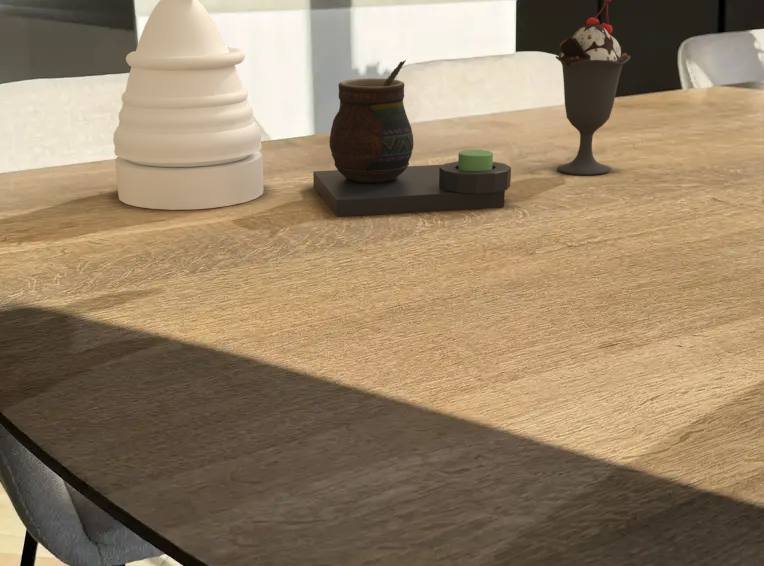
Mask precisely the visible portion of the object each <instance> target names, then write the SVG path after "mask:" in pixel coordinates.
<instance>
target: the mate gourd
mask: <svg viewBox="0 0 764 566" xmlns="http://www.w3.org/2000/svg"><path fill="white" fill-rule="evenodd" d="M406 61H407V60H406V59H405V60H403V61H399V63H398V64H397V66H396V67H395V68H394V69H393V71H392V72H391V73H390V75H388V77H387V78H376V77H375V78H370V77H369V78H356V79H347V80H343V81H340V82H339V83H338V85H337V86H338V99H339V107H338V108H339V109H338V111H337V113H336V114H335V116H334V119H333V120H332V125H331V129H330V134H329V150H330V152H331V156H332V158H333V162H334V167H335V168H336V170H338V171H339V172H340V173H341V174H342V175H343V176H345V178H346V179H348V180H351V181H357V182H368V183H376V182H386V181H390V180H393V179H396V178H397V177H398V176H399V175H400V174H401V173H403V172H404V170H405V169H406V168H407V167H408V166H409V165H410V162H409V161H410V160H411V157H412V154H413V150H414V145H415V143H414V135H413V129H412V126H411V124H410V121H409V118H408V115H407V112H406V109H405V105H404V98H405V82H403V81H401V80H399V79H396V77H397V76H398V75H399V73H400V72H401V69H402V68H403V66H404V64H405V63H406Z"/></svg>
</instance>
